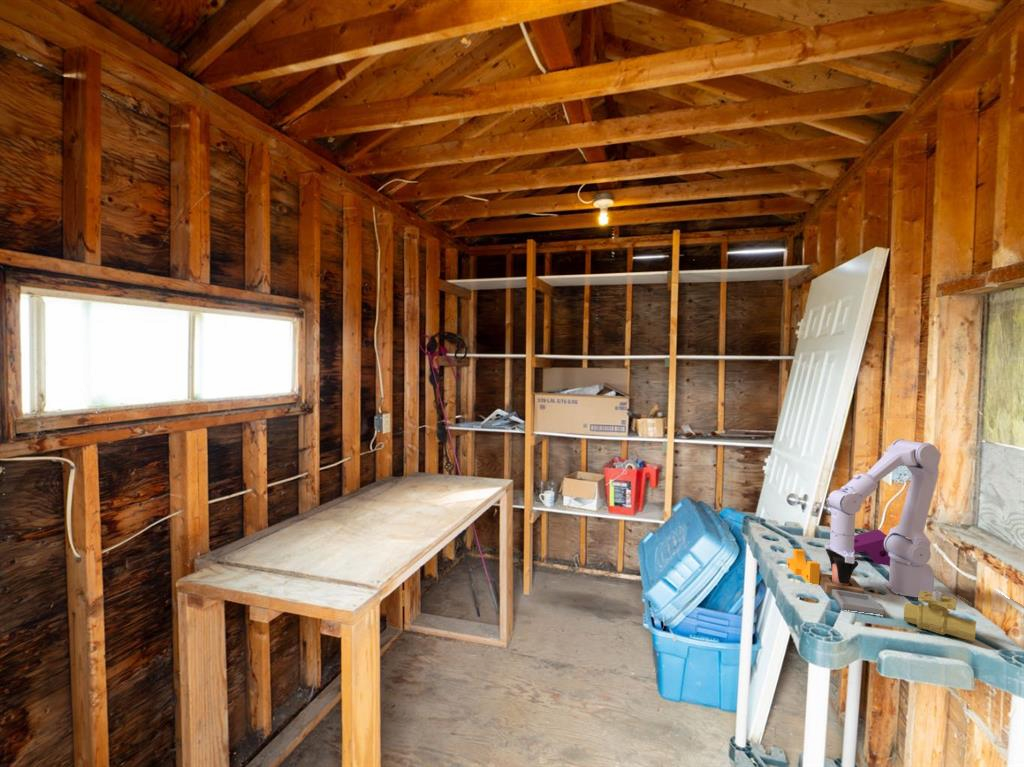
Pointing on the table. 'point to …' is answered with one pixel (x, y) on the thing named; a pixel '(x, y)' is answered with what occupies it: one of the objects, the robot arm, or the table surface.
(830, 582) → the square frame
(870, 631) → the table surface
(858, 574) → the table surface
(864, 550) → the mounting bracket
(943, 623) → the ball valve
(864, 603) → the tray
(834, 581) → the plug
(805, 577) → the pipe clamp
